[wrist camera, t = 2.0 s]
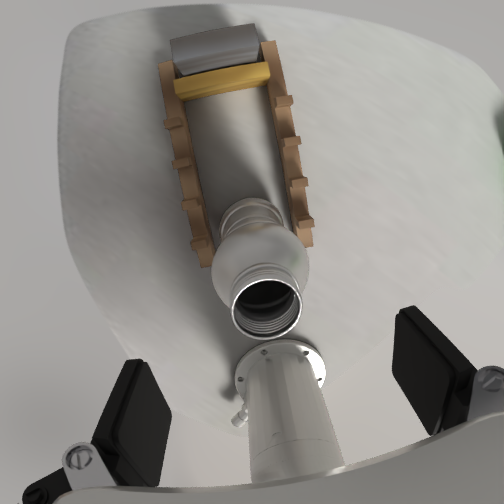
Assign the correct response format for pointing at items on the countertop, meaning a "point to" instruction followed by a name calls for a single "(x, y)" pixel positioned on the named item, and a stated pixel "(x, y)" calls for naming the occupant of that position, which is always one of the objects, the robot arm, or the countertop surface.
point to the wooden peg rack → (220, 81)
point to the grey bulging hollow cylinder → (259, 269)
